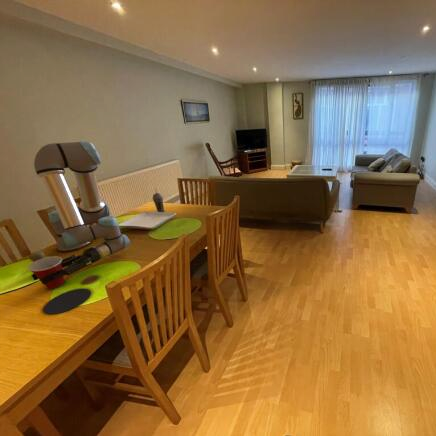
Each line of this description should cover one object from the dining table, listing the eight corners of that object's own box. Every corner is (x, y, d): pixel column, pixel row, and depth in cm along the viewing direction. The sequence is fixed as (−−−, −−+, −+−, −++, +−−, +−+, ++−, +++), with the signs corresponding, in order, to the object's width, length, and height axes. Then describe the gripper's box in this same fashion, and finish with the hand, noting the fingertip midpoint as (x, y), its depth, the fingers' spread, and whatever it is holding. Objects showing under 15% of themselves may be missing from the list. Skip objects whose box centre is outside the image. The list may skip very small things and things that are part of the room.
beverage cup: (155, 213, 190) (148, 189, 182) (157, 210, 196) (151, 187, 189) (165, 212, 192) (159, 188, 184) (166, 209, 198) (161, 186, 190)
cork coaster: (79, 282, 111) (79, 281, 110) (93, 274, 116) (93, 274, 115) (87, 285, 108) (86, 284, 108) (101, 277, 113) (101, 277, 113)
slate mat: (35, 307, 96) (35, 307, 96) (78, 285, 108) (78, 285, 108) (56, 318, 90) (55, 318, 90) (98, 293, 103) (98, 293, 103)
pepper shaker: (52, 267, 122) (43, 248, 118) (54, 271, 118) (45, 252, 114) (35, 272, 118) (25, 253, 113) (37, 277, 114) (27, 257, 110)
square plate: (153, 232, 158) (152, 227, 157) (117, 230, 162) (115, 225, 161) (177, 217, 183) (176, 212, 181) (145, 215, 187) (144, 210, 186)
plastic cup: (51, 294, 103) (39, 271, 98) (33, 290, 105) (20, 267, 100) (77, 278, 112) (68, 257, 107) (60, 275, 115) (50, 254, 110)
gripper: (110, 263, 119) (53, 292, 99) (87, 255, 126) (29, 281, 107) (106, 250, 116) (45, 277, 96) (82, 243, 123) (22, 267, 104)
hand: (37, 279), depth 102 cm, fingers closed on plastic cup, 6 cm apart
